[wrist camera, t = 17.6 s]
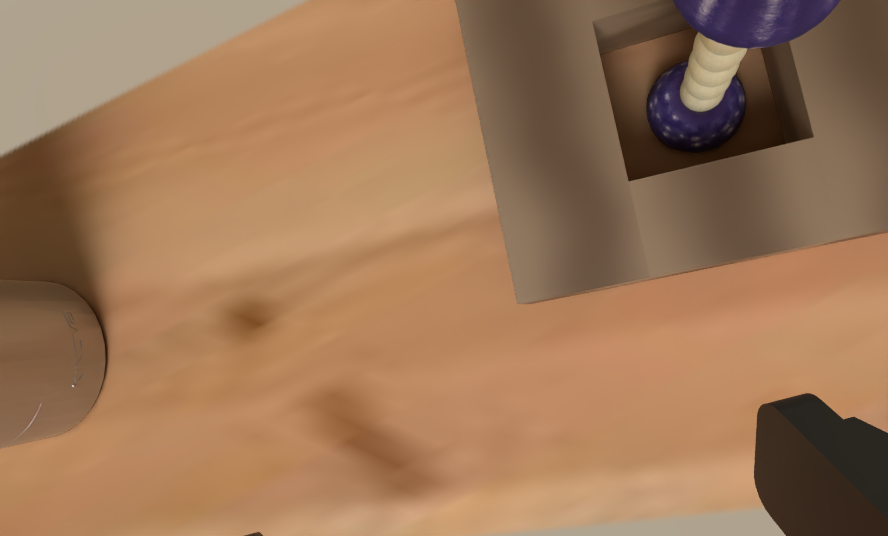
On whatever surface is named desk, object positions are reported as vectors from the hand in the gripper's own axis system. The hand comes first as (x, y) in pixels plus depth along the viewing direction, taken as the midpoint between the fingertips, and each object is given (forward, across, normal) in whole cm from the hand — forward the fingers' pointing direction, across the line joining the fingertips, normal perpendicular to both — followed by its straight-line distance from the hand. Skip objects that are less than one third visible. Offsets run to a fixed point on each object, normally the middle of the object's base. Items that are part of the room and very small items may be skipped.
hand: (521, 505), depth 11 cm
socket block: (+21, -14, +1) cm, 25 cm away
